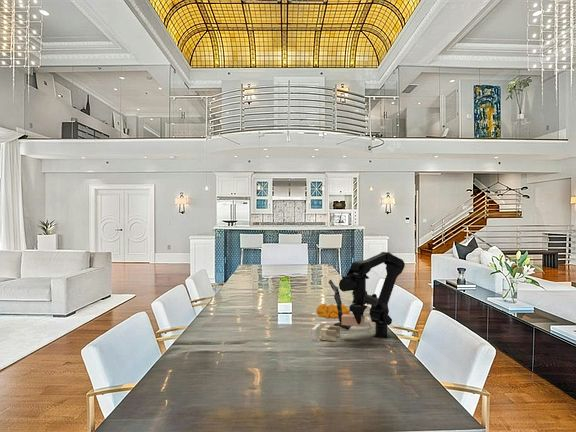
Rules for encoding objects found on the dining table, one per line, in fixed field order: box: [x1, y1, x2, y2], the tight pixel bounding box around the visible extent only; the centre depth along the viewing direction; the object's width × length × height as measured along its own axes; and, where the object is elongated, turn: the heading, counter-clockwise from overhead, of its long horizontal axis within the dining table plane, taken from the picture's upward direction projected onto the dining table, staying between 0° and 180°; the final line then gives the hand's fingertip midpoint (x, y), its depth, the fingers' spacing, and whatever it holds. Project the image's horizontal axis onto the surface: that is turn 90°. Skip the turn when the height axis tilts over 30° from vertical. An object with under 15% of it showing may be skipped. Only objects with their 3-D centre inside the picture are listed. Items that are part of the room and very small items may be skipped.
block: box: [320, 324, 341, 342], centre depth 196 cm, size 9×7×5 cm
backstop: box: [311, 323, 322, 341], centre depth 198 cm, size 10×2×5 cm, turn 161°
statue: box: [328, 279, 352, 332], centre depth 214 cm, size 10×12×25 cm
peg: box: [342, 314, 366, 327], centre depth 192 cm, size 4×10×4 cm, turn 71°
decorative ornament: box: [316, 303, 350, 320], centre depth 247 cm, size 19×5×30 cm
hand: (359, 322), depth 191 cm, fingers closed on peg, 4 cm apart
